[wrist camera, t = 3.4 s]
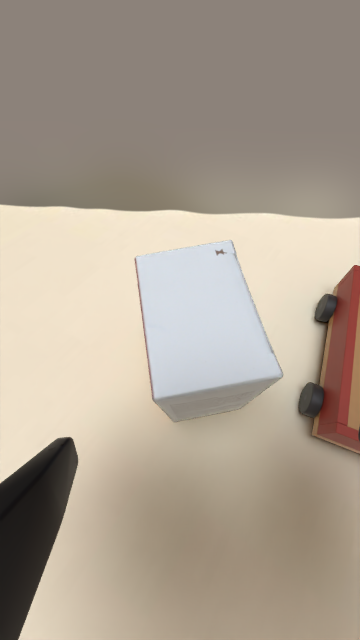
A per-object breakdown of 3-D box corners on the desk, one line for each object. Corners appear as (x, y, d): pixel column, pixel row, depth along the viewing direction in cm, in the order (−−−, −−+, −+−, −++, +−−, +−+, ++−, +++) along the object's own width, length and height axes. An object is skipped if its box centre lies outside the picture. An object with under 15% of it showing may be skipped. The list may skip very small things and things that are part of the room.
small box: (158, 332, 23) (132, 252, 13) (217, 321, 23) (232, 235, 13) (171, 424, 19) (148, 403, 9) (242, 410, 19) (287, 376, 10)
